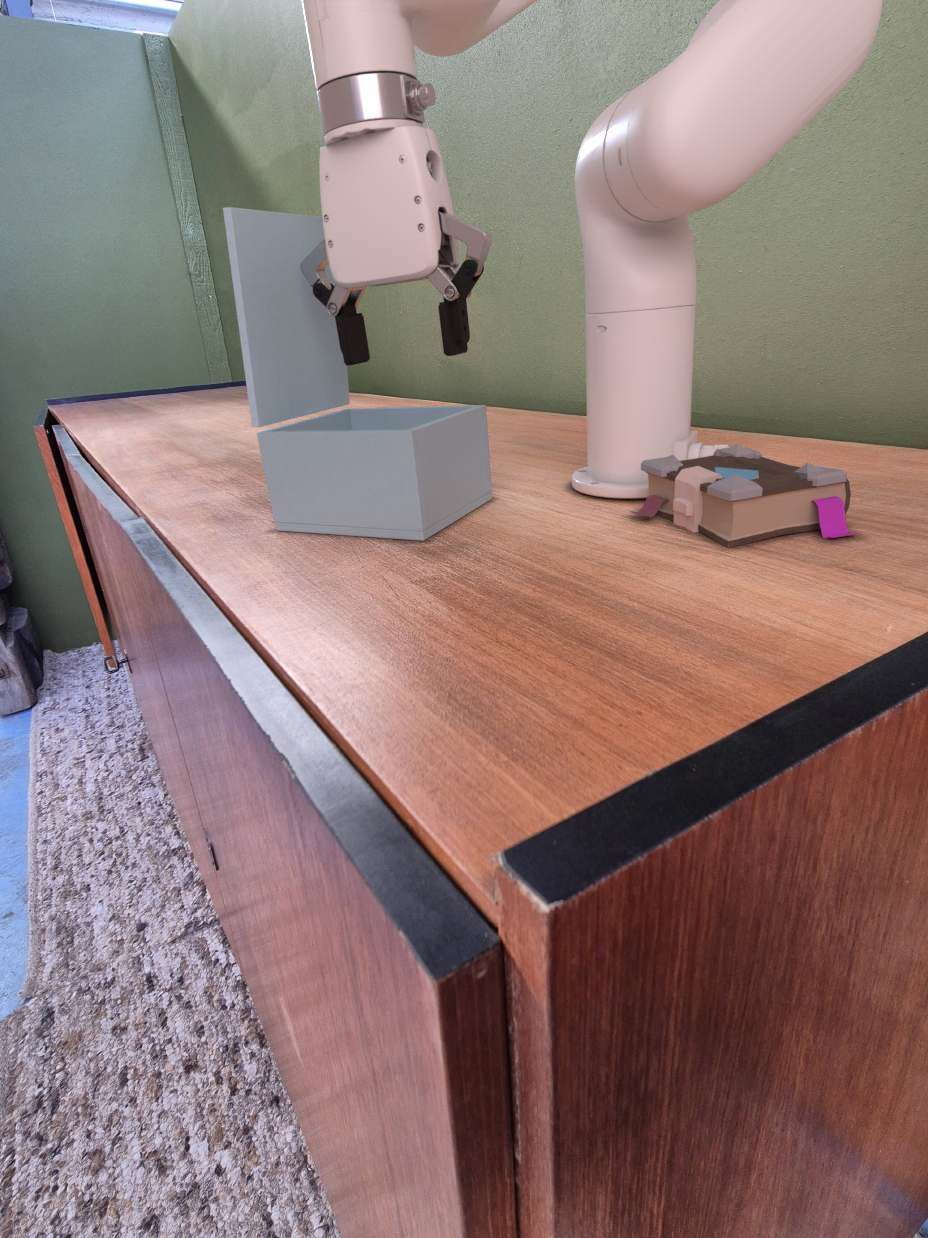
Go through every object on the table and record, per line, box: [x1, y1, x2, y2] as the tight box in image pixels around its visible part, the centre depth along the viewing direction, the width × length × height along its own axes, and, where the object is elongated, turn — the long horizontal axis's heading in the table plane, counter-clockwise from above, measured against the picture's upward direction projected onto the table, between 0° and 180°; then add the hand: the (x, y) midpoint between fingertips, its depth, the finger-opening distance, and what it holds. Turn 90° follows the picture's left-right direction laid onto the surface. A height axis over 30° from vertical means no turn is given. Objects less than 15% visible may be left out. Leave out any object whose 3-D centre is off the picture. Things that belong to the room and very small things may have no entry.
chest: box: [256, 404, 493, 542], centre depth 65 cm, size 16×14×9 cm
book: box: [629, 444, 858, 549], centre depth 57 cm, size 20×12×5 cm, turn 17°
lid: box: [222, 206, 351, 428], centre depth 64 cm, size 16×14×5 cm
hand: (405, 358), depth 60 cm, fingers open, 9 cm apart
